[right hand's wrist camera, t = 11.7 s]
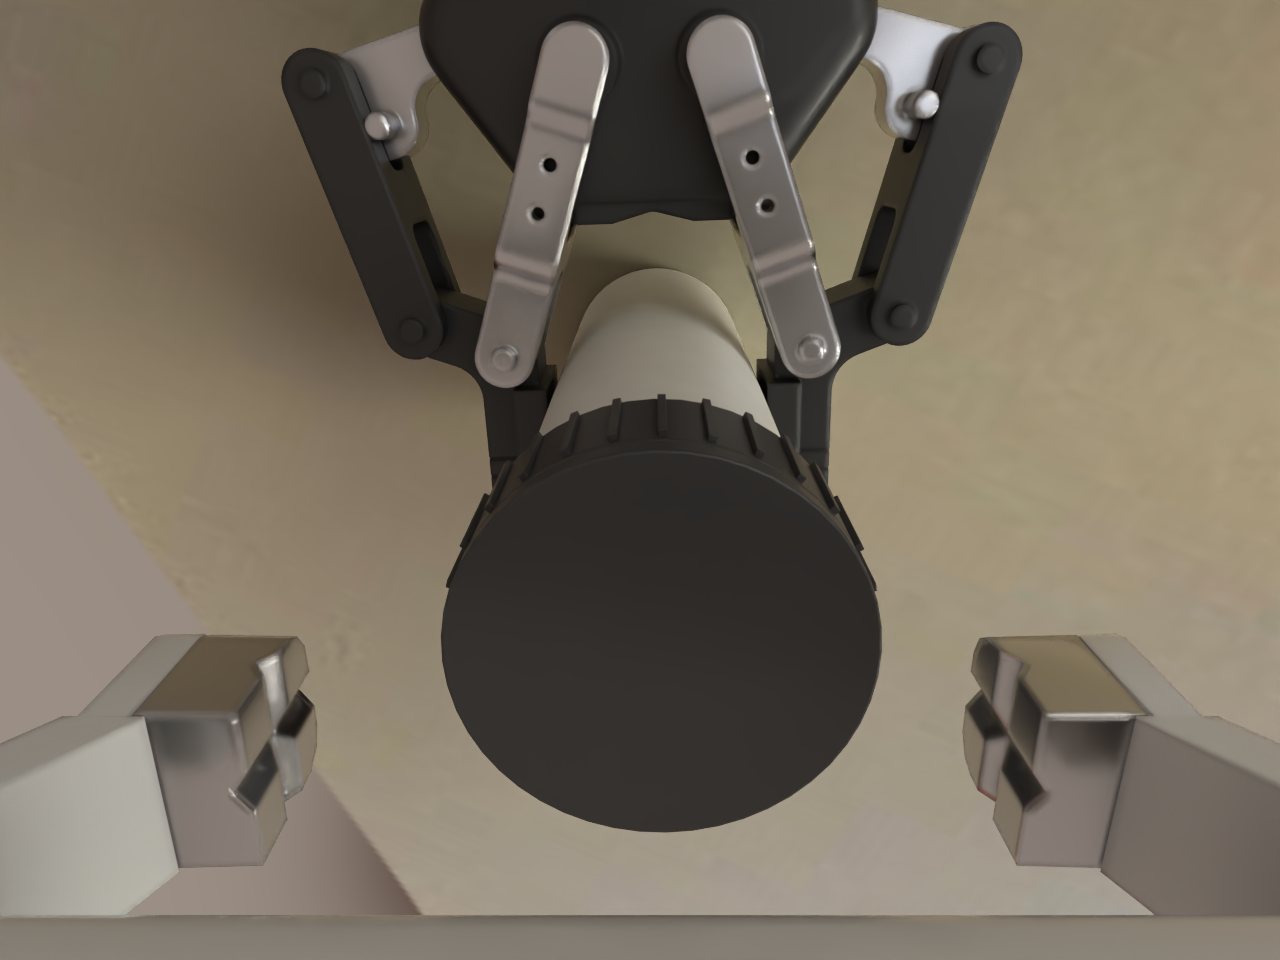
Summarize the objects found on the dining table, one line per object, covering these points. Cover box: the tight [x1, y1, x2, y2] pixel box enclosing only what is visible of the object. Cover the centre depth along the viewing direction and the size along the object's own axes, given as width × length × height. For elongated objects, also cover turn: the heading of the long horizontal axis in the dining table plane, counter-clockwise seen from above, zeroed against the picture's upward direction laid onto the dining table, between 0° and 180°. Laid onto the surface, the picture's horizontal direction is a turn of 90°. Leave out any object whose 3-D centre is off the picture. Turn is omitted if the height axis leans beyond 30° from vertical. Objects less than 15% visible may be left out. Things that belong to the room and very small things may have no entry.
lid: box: [441, 394, 882, 832], centre depth 12 cm, size 5×5×2 cm
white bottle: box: [539, 268, 780, 437], centre depth 19 cm, size 5×5×16 cm
